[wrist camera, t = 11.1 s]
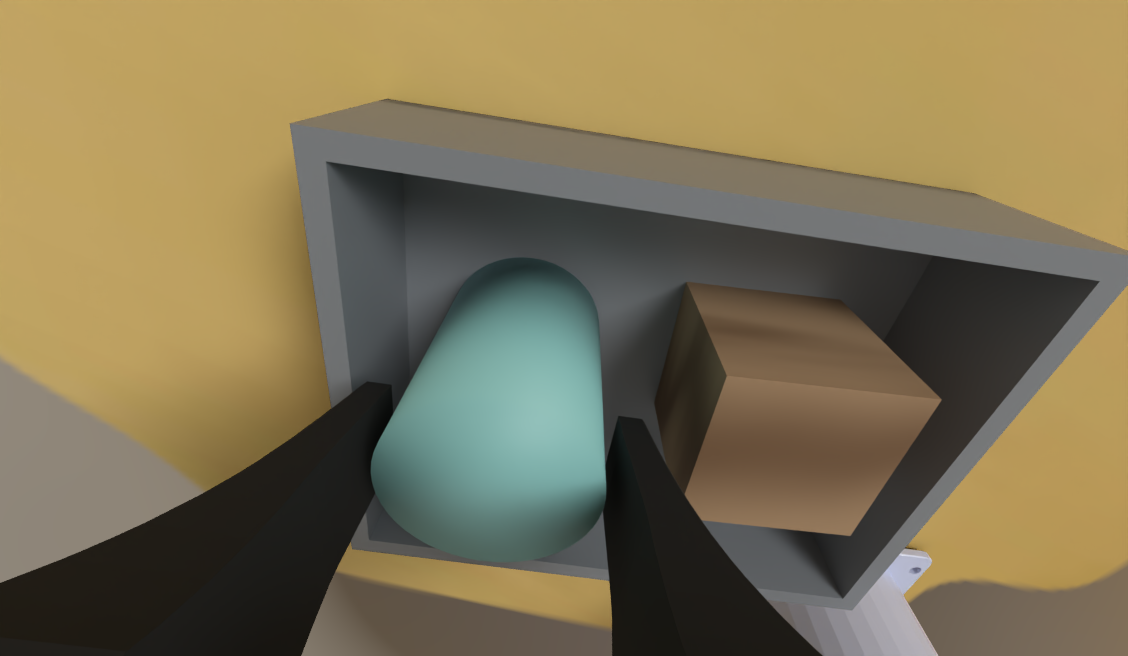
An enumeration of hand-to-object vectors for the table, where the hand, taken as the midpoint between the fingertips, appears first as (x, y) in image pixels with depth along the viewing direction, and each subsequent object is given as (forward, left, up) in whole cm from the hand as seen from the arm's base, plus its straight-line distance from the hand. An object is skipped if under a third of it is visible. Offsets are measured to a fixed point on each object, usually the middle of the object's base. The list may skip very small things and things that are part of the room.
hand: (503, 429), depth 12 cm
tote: (0, -4, -5) cm, 7 cm away
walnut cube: (0, -7, -5) cm, 9 cm away
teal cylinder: (0, 0, -5) cm, 5 cm away
